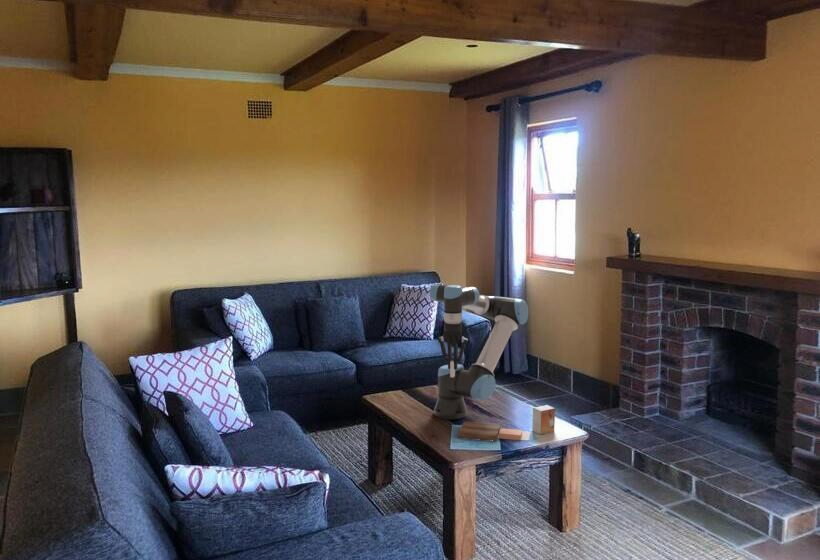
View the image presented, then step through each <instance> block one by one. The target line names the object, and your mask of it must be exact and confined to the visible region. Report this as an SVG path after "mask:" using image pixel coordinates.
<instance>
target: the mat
mask: <svg viewBox="0 0 820 560" xmlns="http://www.w3.org/2000/svg"><path fill="white" fill-rule="evenodd" d="M500 430H501V429H500ZM531 433H532V431H526V430H522V437H521V440H520V441H525V442H529V441H530V438H531ZM497 439H505V440H508V439H507V438H499V435H498V438H497ZM511 440H514V441H518V440H517V439H511Z"/></svg>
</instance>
